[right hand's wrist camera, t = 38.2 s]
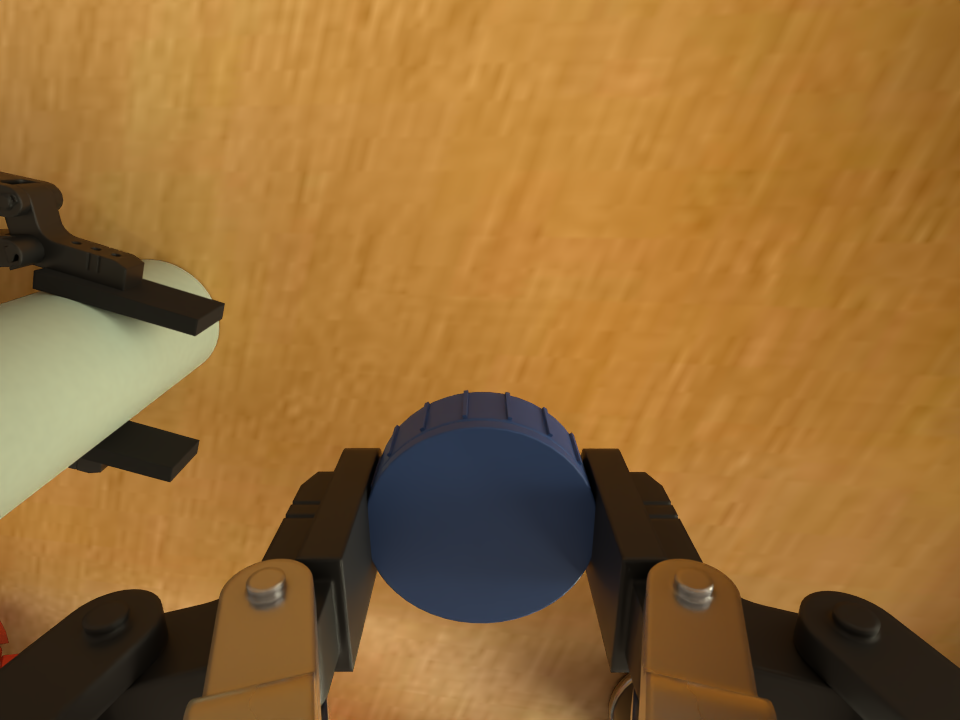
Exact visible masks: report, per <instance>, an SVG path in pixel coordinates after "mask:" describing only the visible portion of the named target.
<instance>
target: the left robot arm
mask: <svg viewBox="0 0 960 720" xmlns="http://www.w3.org/2000/svg"><path fill="white" fill-rule="evenodd" d="M62 203H63V197H62V193H61V192H60V190H59V189H58V188H57V187H56V186H55V185H53V184H51V183H49V182H44V181H40V180H35V179H31V178H26V177H22V176H17V175H13V174H8V173H4V172H0V216H3V217H5V219H6V223H7V226H8V229H0V267H9V268H10V270H13V269H17V268H21V267H25V266H29V265H35V266H39V267H42V269H38V270H35V271H34V276H33V289H36V290H40V291H43V292H46V293H50V294H53V295H57V296H60V297H63V298H67V299H70V300H74V301H77V302H80V303H84V304H87V305H90V306H94V307H97V308H101V309H104V310H107V311H111V312H114V313H117V314H121V315H124V316H128V317H131V318H134V319H138V320H141V321H144V322H148V323H151V324H155V325H158V326H161V327H165V328H168V329H171V330H175V331H178V332H182V333H185V334H188V335H192V336H197V335H198V334H200V333H201V332H203V331H204V330H206V329H207V328H209V327H210V326H212V325H213V324H215V323H216V322H218V321H219V320H221V319H222V316H223V311H224V305H225V303H222V302H218V301H215V300H212V299H209V298H205V297H202V296H199V295H195V294H192V293H189V292H186V291H182V290H179V289H176V288H172V287H169V286H166V285H163V284H159V283H156V282H153V281H149V280H146V279H143V271H144V264H145V263H144V262H143V261H141V260H140V259H139V258H137V257H136V256H134V255H133V254H129V253H126V252H123V251H118V250H116V249H113V248H109V247H107V246H103V245H100V244H97V243H94V242H90V241H87V240H84V239H81V238H77V237H75V236H73V235H72V234H70V233H69V232H68V231H67V230H66V229H65V228H64V226H63V225H62V222H61V219H60V215H59V212H58V209H60V207H61V206H62ZM198 445H199V440H197V439H193V438H189V437H186V436H182V435H179V434H175V433H171V432H168V431H164V430H161V429H157V428H153V427H150V426H146V425H143V424H139V423H135V422H132V421H127V422H126V423H125V424H123V425H122V426H121V427H119V428H118V429H117V430H115V431H114V432H113V433H112V434H110V435H109V436H108V437H106V438H105V439H104V440H103V441H101V442H100V443H99V444H97V445H96V446H95V447H93V448H92V449H91V450H90V451H88V452H87V453H86V454H84V455H83V456H82V457H80V458H79V459H78V460H77V461H75V462H74V463H73V464H71V465H70V466H69V467H68V468H72V469H77V470H80V471H83V472H87V473H98V472H101V471H103V470H104V469H105V468H106V467H107V466H111V467H115V468H119V469H123V470H126V471H130V472H134V473H137V474H141V475H145V476H149V477H152V478H156V479H160V480H163V481H167V482H171V481H172V480H173V479H174V478H175V476H176V475H177V474H178V473H179V472H180V471H181V470H182V469H183V468H184V467H185V466H186V465H187V463H188V462H189V461H190V460H191V459H192V458H193V457H194V456H195V455H196V454H197V450H198Z"/></svg>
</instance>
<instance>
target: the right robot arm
mask: <svg viewBox="0 0 960 720" xmlns="http://www.w3.org/2000/svg"><path fill="white" fill-rule="evenodd" d="M381 456H382V453H381V450H380V448H345V449H344V450H343V452H342V454H341V457H340V459H339V461H338V463H337V466H336V468H335V470H334V472H317V473H316V474H315V475H313V476H312V477H311V478H310V479H308V480H307V481H306V482H305V483H303V484H302V485H301V486H300V488H299V490H298V492H297V494H296V496H295V498H294V500H293V504H292V505H291V506H290V508H289V510H288V511H287V513H286V518H284V519H283V521H282V523H281V525H280V527H279V529H278V531H277V533H276V535H275V536H274V538H273V540H272V542H271V544H270V546H269V548H268V550H267V552H266V554H265V556H264V558H263V560H262V561H261V562H259V563H256V564H253V565H251V566H249V567H246V568H245V569H243V570H241V571H239V572H238V573H237V574H235V575H234V576H233V577H232V578H231V579H230V580H229V581H228V582H227V583H226V584H225V586H224V587H223V589H222V591H221V593H220V597H219V599H217V600H215V601H212V602H209V603H205V604H201V605H197V606H193V607H188V608H184V609H180V610H175V611H171V612H167V613H164V611H163V607H162V603H161V600H160V599H159V598H158V596H157V595H155V594H154V593H152V592H149V591H146V590H140V589H130V590H122V591H117V592H113V593H110V594H106V595H104V596H101V597H98V598H96V599H94V600H92V601H90V602H88V603H86V604H84V605H83V606H81V607H79V608H78V609H77V610H75V611H74V612H72V613H71V614H70V615H68V616H67V617H66V618H65V619H63V620H62V621H61V622H59V623H58V624H57V625H56V626H54V627H53V628H52V629H50V630H49V631H48V632H47V633H45V634H44V635H43V636H41V637H40V638H39V639H37V640H36V641H35V642H34V643H32V644H31V645H30V646H28V647H27V648H26V649H25V650H23V651H22V652H21V653H19V654H18V655H17V656H16V657H14V658H13V659H12V660H10V661H9V662H8V663H7V664H5V665H4V666H3V667H1V668H0V720H330V719H329V705H328V696H327V695H328V692H329V689H330V685H331V682H332V678H333V674H334V672H353V669H354V665H355V660H356V656H357V652H358V648H359V644H360V640H361V635H362V631H363V627H364V623H365V619H366V614H367V610H368V606H369V602H370V598H371V594H372V589H373V585H374V581H375V577H376V573H377V568H376V567H375V565H374V563H373V561H372V556H371V544H370V531H369V519H368V504H367V503H368V498H369V494H370V491H371V484H372V480H373V477H374V474H375V471H376V468H377V465H378V461H379V458H380V457H381ZM581 458H582V461H583V464H584V467H585V470H586V474H587V477H588V480H589V483H590V486H591V489H592V493H593V496H594V499H595V502H596V508H595V521H594V534H593V546H592V557H591V560H590V563H589V565H588V566H587V568H586V573H587V577H588V581H589V585H590V589H591V593H592V597H593V601H594V605H595V609H596V614H597V618H598V622H599V626H600V630H601V634H602V638H603V642H604V646H605V650H606V654H607V658H608V662H609V666H610V671H611V672H630V673H628V674H627V675H626V676H625V677H624V678H623V679H622V680H621V681H620V682H619V683H618V685H617V686H616V688H615V689H614V691H613V693H612V695H611V698H610V702H609V717H610V720H960V668H959V667H957V666H956V665H955V664H953V663H952V662H951V661H950V660H948V659H947V658H946V657H944V656H943V655H942V654H941V653H939V652H938V651H937V650H935V649H934V648H933V647H932V646H930V645H929V644H928V643H926V642H925V641H924V640H923V639H921V638H920V637H919V636H917V635H916V634H915V633H914V632H912V631H911V630H910V629H908V628H907V627H906V626H904V625H903V624H902V623H901V622H899V621H898V620H897V619H895V618H894V617H893V616H892V615H890V614H889V613H887V612H886V611H885V610H883V609H882V608H880V607H878V606H877V605H875V604H873V603H871V602H869V601H867V600H865V599H862V598H859V597H857V596H854V595H850V594H847V593H842V592H835V591H820V592H815V593H812V594H809V595H808V596H806V597H805V598H804V599H803V601H802V602H801V605H800V609H799V613H794V612H790V611H785V610H781V609H777V608H773V607H768V606H764V605H760V604H757V603H753V602H750V601H748V600H745V599H743V598H741V597H740V593H739V591H738V589H737V587H736V586H735V584H734V583H733V582H732V581H731V580H730V579H729V578H728V577H727V576H726V575H725V574H723V573H722V572H721V571H719V570H717V569H715V568H714V567H711V566H709V565H707V564H704V563H703V562H702V560H701V558H700V556H699V554H698V553H697V551H696V549H695V547H694V545H693V543H692V541H691V539H690V537H689V536H688V534H687V532H686V530H685V528H684V526H683V524H682V522H681V520H680V519H678V515H677V513H676V511H675V509H674V507H673V505H671V501H670V500H669V498H668V496H667V494H666V492H665V490H664V488H663V486H662V485H660V484H659V483H658V482H657V481H655V480H654V479H653V478H652V477H650V476H649V475H648V474H647V473H645V472H629V470H628V468H627V466H626V463H625V461H624V459H623V457H622V455H621V452H620V450H619V449H583V450H582V453H581Z"/></svg>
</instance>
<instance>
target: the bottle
mask: <svg viewBox="0 0 960 720" xmlns="http://www.w3.org/2000/svg"><path fill="white" fill-rule="evenodd" d="M141 261H143V262H144V263H145V264H144V271H143V279H146V280H149V281H153V282H156V283H159V284H163V285H166V286H169V287H172V288H176V289H179V290H182V291H186V292H189V293H192V294H195V295H199V296H202V297H205V298H209V299H211V297H210V295H209V293H208V292H207V291H206V289H205V288H204V287H203V286H202V284H201V283H200V282H199V281H198V280H197V279H195V278H194V277H193V276H192V275H191V274H189V273H188V272H186V271H185V270H183V269H181V268H179V267H177V266H175V265H173V264H170V263H167V262H163V261H159V260H148V259H144V260H141ZM218 335H219V321H218V322H216V323H215V324H213V325H212V326H210V327H209V328H207V329H206V330H204V331H203V332H201V333H200V334H198V335H197V336H192V335H188V334H185V333H182V332H178V331H175V330H171V329H168V328H165V327H161V326H158V325H155V324H151V323H148V322H144V321H141V320H138V319H134V318H131V317H128V316H124V315H121V314H117V313H114V312H111V311H107V310H104V309H101V308H97V307H94V306H90V305H87V304H84V303H80V302H77V301H74V300H70V299H67V298H63V297H60V296H57V295H53V294H50V293H46V292H43V291H39V292H36V293H33V294H30V295H27V296H24V297H21V298H18V299H15V300H12V301H9V302H6V303H3V304H0V519H1V518H3V517H4V516H5V515H6V514H8V513H9V512H10V511H12V510H13V509H14V508H16V507H17V506H18V505H19V504H21V503H22V502H23V501H25V500H26V499H27V498H29V497H30V496H31V495H32V494H34V493H35V492H36V491H38V490H39V489H40V488H41V487H43V486H44V485H45V484H47V483H48V482H49V481H51V480H52V479H53V478H54V477H56V476H57V475H58V474H60V473H61V472H62V471H64V470H65V469H66V468H67V467H69V466H70V465H71V464H73V463H74V462H75V461H77V460H78V459H79V458H80V457H82V456H83V455H84V454H86V453H87V452H88V451H90V450H91V449H92V448H93V447H95V446H96V445H97V444H99V443H100V442H101V441H103V440H104V439H105V438H106V437H108V436H109V435H110V434H112V433H113V432H114V431H115V430H117V429H118V428H119V427H121V426H122V425H123V424H125V423H126V422H127V421H128V420H130V419H131V418H132V417H134V416H135V415H136V414H138V413H139V412H140V411H141V410H143V409H144V408H145V407H147V406H148V405H149V404H151V403H152V402H153V401H154V400H156V399H157V398H158V397H160V396H161V395H162V394H164V393H165V392H166V391H167V390H169V389H170V388H171V387H173V386H174V385H175V384H177V383H178V382H179V381H180V380H182V379H183V378H184V377H186V376H187V375H188V374H189V373H191V372H192V371H193V370H195V369H196V368H197V367H199V366H200V365H201V364H202V363H204V362H205V361H206V360H207V359H208V358H209V356H210V355H211V353H212V352H213V350H214V348H215V346H216V344H217V340H218Z"/></svg>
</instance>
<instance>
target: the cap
mask: <svg viewBox="0 0 960 720" xmlns="http://www.w3.org/2000/svg"><path fill="white" fill-rule="evenodd" d="M367 504H368V519H369V531H370V544H371V556H372V561H373V563H374V565H375V567H376V568H377V570H378V572H379V574H380V575H381V576H382V577H383V579H384V580H385V581H386V583H387V584H388V585H389V586H390V587H391V588H392V589H393V590H394V591H395V592H396V593H397V594H399V595H400V596H401V597H402V598H404V599H405V600H406V601H408V602H409V603H411V604H413V605H414V606H416V607H418V608H419V609H422V610H424V611H426V612H428V613H430V614H433V615H436V616H439V617H442V618H445V619H450V620H454V621H459V622H468V623H495V622H503V621H508V620H514V619H517V618H521V617H524V616H527V615H530V614H532V613H534V612H537V611H539V610H541V609H543V608H545V607H547V606H548V605H550V604H552V603H553V602H555V601H556V600H558V599H559V598H560V597H562V596H563V595H564V594H565V593H566V592H567V591H568V590H570V589H571V588H572V587H573V586H574V585H575V583H576V582H577V581H578V580H579V578H580V577H581V576H582V575H583V573H584V571H585V570H586V568H587V566H588V565H589V563H590V560H591V557H592V546H593V534H594V521H595V508H596V502H595V499H594V496H593V493H592V489H591V486H590V483H589V480H588V477H587V474H586V470H585V467H584V464H583V461H582V458H581V456H580V453H579V450H578V447H577V444H576V441H575V438H574V435H573V434H572V433H570V434H569V433H568V432H567V431H566V429H565V428H564V427H563V426H562V425H561V424H560V423H559V422H558V421H557V420H556V419H555V418H554V417H552V416H551V415H550V414H548V412H547V409H546V408H545V407H543V408H542V409H541V408H539V407H537V406H536V405H534V404H532V403H530V402H527V401H525V400H522V399H520V398H517V397H513V396H510V393H508V392H505V394H500V393H491V392H472V393H468V390H466V391H464V393H463V394H457V395H453V396H449V397H446V398H443V399H440V400H438V401H435V402H433V403H431V404H430V403H429V402H427V403H425V405H424V407H423V408H421V409H420V410H418V411H417V412H416V413H414V414H413V415H411V416H410V417H409V418H408V419H407V420H406V421H405V422H403V423H402V424H401V425H400V427H399V426H398V425H397V426H396V427H395V428H394V432H393V435H392V437H391V438H390V440H389V442H388V443H387V445H386V447H385V449H384V452H383V454H382V456H381V457H380V458H379V461H378V465H377V468H376V471H375V474H374V477H373V480H372V484H371V491H370V494H369V498H368V503H367Z"/></svg>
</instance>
